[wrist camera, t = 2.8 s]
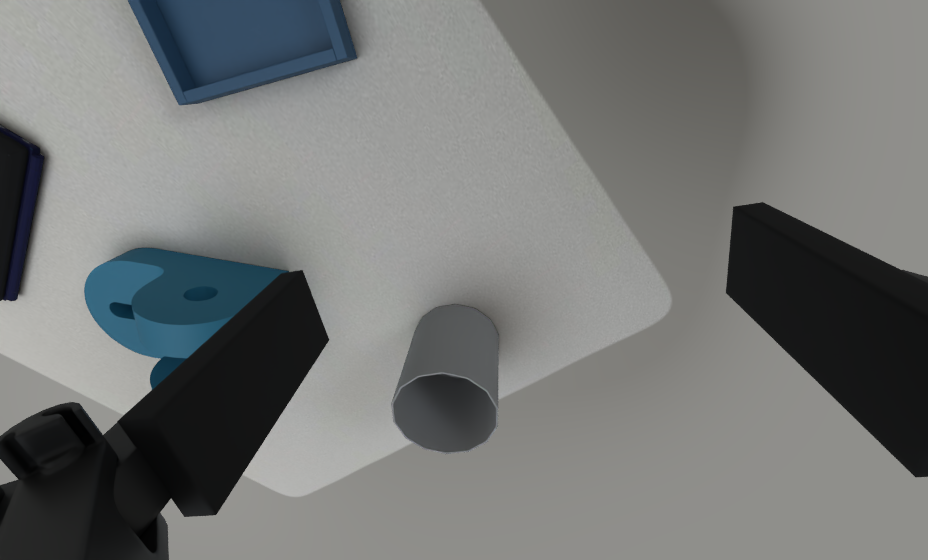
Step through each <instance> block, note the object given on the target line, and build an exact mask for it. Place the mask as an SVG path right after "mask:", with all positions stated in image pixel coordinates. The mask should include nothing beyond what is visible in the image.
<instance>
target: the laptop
mask: <svg viewBox="0 0 928 560" xmlns="http://www.w3.org/2000/svg"><path fill="white" fill-rule="evenodd" d="M43 161H44V156H43V155H41V154H40V148H39V147H37V146H36V145H34V144H32V143H31V142H29V141H27V140H25V139H24V138H22V137H20V136H18V135H17V134H15V133H13V132H12V131H10V130H8V129H6V128H5V127H3V126H2V125H0V301H1V300H5V301H6V300H10V301H15V300H16V299H17V298H18V292H19V286H20V281H21V276H22V271H23V265H24V260H25V255H26V250H27V245H28V239H29V234H30V229H31V224H32V219H33V213H34V208H35V203H36V198H37V193H38V188H39V182H40V177H41V172H42V166H43Z"/></svg>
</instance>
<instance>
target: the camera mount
mask: <svg viewBox="0 0 928 560" xmlns="http://www.w3.org/2000/svg"><path fill="white" fill-rule="evenodd" d="M286 272H289V271H285V270H279V269H273V268H267V267H261V266H255V265H249V264H243V263H238V262H232V261H226V260H220V259H214V258H208V257H202V256H196V255H190V254H185V253H179V252H173V251H167V250H161V249H155V248H138V249H133V250H130V251H128V252H126V253H124V254H122V255H120V256H118V257H116V258H114V259H112V260H110V261H108V262H105V263H103V264H101V265H99V266H98V267H96V268H95V269H94V270H93V271H92V272H91V273H90V274H89V276H88V278H87V280H86V283H85V290H84V293H85V300H86V304H87V307H88V309H89V311H90V313H91V315H92V316H93V318H94V319H95V321H96V322H97V323H98V325H99V326H100V327H101V328H102V329H103V330H104V331H105V332H106V333H107V334H108V335H109V336H110V337H111V338H113V339H114V340H115V341H117V342H118V343H120V344H121V345H123V346H124V347H126V348H128V349H130V350H132V351H134V352H137V353H139V354H142V355H146V356H150V357H155V358H161V360H160V361H159V362H158V363H157V364H156V365H155V367H154V368H153V370H152V372H151V375H150V383H151V387H152V390H153V389H154V388H155V387H156V386H157V385H158V384H159V383H160V382H161V381H163V380H164V379H165V378H166V377H167V376H168V375H169V374H170V373H171V372H173V371H174V370H175V369H176V368H177V367H178V366H179V365H180V364H181V363H182V362H184V361H185V360H186V359H187V358H188V357H189V356H190V355H191V354H192V353H194V352H195V351H196V350H197V349H198V348H199V347H200V346H201V345H202V344H203V343H205V342H206V341H207V340H208V339H209V338H210V337H211V336H212V335H213V334H215V333H216V332H217V331H218V330H219V329H220V328H221V327H222V326H223V325H224V324H226V323H227V322H228V321H229V320H230V319H231V318H232V317H233V316H234V315H236V314H237V313H238V312H239V311H240V310H241V309H242V308H243V307H244V306H245V305H247V304H248V303H249V302H250V301H251V300H252V299H253V298H254V297H255V296H257V295H258V294H259V293H260V292H261V291H262V290H263V289H264V288H265V287H266V286H268V285H269V284H270V283H271V282H272V281H273V280H274V279H275V278H276V277H278V276H279V275H280V274H281V273H286Z"/></svg>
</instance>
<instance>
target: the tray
mask: <svg viewBox="0 0 928 560" xmlns="http://www.w3.org/2000/svg"><path fill="white" fill-rule="evenodd" d="M128 2H129V4H130V6H131V8H132V10H133V12H134V14H135V16H136V18H137V20H138V22H139V24H140V26H141V28H142V31H143V33H144V35H145V37H146V39H147V41H148V43H149V45H150V47H151V49H152V51H153V53H154V55H155V57H156V59H157V61H158V63H159V65H160V67H161V69H162V71H163V73H164V76H165V78H166V80H167V82H168V84H169V86H170V88H171V90H172V92H173V94H174V96H175V98H176V100H177V102H178V104H179V105H188V104H198V103H202V102H205V101H209V100H212V99H216V98H219V97H223V96H226V95H230V94H233V93H237V92H241V91H244V90H248V89H251V88H255V87H258V86H262V85H265V84H269V83H272V82H276V81H279V80H283V79H286V78H290V77H293V76H297V75H301V74H304V73H308V72H311V71H315V70H318V69H322V68H325V67H329V66H332V65H336V64H339V63H343V62H346V61H350V60H354V59H357V55H356V52H355V49H354V45H353V42H352V39H351V36H350V32H349V29H348V26H347V23H346V19H345V16H344V13H343V9H342V6H341V3H340V0H128Z"/></svg>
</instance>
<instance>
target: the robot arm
mask: <svg viewBox="0 0 928 560" xmlns="http://www.w3.org/2000/svg"><path fill="white" fill-rule="evenodd" d="M726 293H727V294H728V295H729V296H730V297H731V298H732V299H733V300H734V301H735V302H736V303H737V304H738V305H739V306H740V307H741V308H742V309H743V310H744V311H745V312H746V313H747V314H748V315H749V316H750V317H751V318H753V319H754V321H756V322H757V323H758V324H759V325H760V326H761V327H762V328H763V329H764V330H765V331H766V332H767V333H768V334H769V335H770V336H771V337H772V338H773V339H774V340H775V341H776V342H777V343H778V344H779V345H780V346H781V347H782V348H783V349H784V350H785V351H786V352H787V353H788V354H789V355H790V356H791V357H792V358H794V359H795V360H796V361H797V362H798V363H799V364H800V365H801V366H802V367H803V368H804V369H805V370H806V371H807V372H808V373H809V374H810V375H811V376H812V377H813V378H814V379H815V380H816V381H817V382H818V383H819V384H820V385H821V386H822V387H823V388H824V389H825V390H826V391H827V392H828V393H830V394H831V395H832V396H833V397H834V398H835V399H836V400H837V401H838V402H839V403H840V404H841V405H842V406H843V407H844V408H845V409H846V410H847V411H848V412H849V413H850V414H851V415H852V416H853V417H854V418H855V419H856V420H857V421H858V422H859V423H860V424H861V425H862V426H863V427H864V428H866V429H867V430H868V431H869V432H870V433H871V434H872V435H873V436H874V437H875V438H876V439H877V440H878V441H879V442H880V443H881V444H882V445H883V446H884V447H885V448H886V449H887V450H888V451H889V452H890V453H891V454H892V455H893V456H894V457H896V459H898V461H900V462H901V463H902V464H903V465H904V466H905V467H906V468H907V469H908V470H909V471H910V472H911V473H912V474H913V475H914V476H915V477H928V277H927V276H923V275H919V274H915V273H912V272H908V271H905V270H900V269H898V268H896V267H894V266H892V265H890V264H888V263H886V262H884V261H882V260H880V259H878V258H876V257H873V256H872V255H869V254H867V253H865V252H863V251H861V250H859V249H857V248H855V247H853V246H851V245H849V244H847V243H845V242H843V241H841V240H839V239H837V238H835V237H833V236H831V235H829V234H827V233H824V232H822V231H820V230H818V229H816V228H814V227H812V226H810V225H808V224H806V223H804V222H802V221H800V220H798V219H796V218H794V217H792V216H790V215H788V214H786V213H784V212H782V211H780V210H777V209H775V208H773V207H771V206H769V205H767V204H765V203H763V202H762V203H755V204H749V205H742V206H735V207H733V217H732V229H731V240H730V252H729V264H728V276H727V287H726ZM328 341H329V338H328V336H327V333H326V330H325V328H324V325H323V323H322V320H321V317H320V315H319V312H318V309H317V307H316V304H315V302H314V299H313V296H312V294H311V291H310V289H309V286H308V283H307V281H306V278H305V276H304V273H303V270H300V271H293V272H286V273H281V274H280V275H279V276H278V277H276V278H275V279H274V280H273V281H272V282H271V283H270V284H269V285H268V286H266V287H265V288H264V289H263V290H262V291H261V292H260V293H259V294H258V295H257V296H255V297H254V298H253V299H252V300H251V301H250V302H249V303H248V304H247V305H245V306H244V307H243V308H242V309H241V310H240V311H239V312H238V313H237V314H236V315H234V316H233V317H232V318H231V319H230V320H229V321H228V322H227V323H226V324H224V325H223V326H222V327H221V328H220V329H219V330H218V331H217V332H216V333H215V334H213V335H212V336H211V337H210V338H209V339H208V340H207V341H206V342H205V343H203V344H202V345H201V346H200V347H199V348H198V349H197V350H196V351H195V352H194V353H192V354H191V355H190V356H189V357H188V358H187V359H186V360H185V361H184V362H182V363H181V364H180V365H179V366H178V367H177V368H176V369H175V370H174V371H173V372H171V373H170V374H169V375H168V376H167V377H166V378H165V379H164V380H163V381H161V382H160V383H159V384H158V385H157V386H156V387H155V388H154V389H153V390H152V391H150V392H149V393H148V394H147V395H146V396H145V397H144V398H143V399H142V400H141V401H139V402H138V403H137V404H136V405H135V406H134V407H133V408H132V409H131V410H129V411H128V412H127V413H126V414H125V415H124V416H123V417H122V418H121V419H120V420H119V421H118V422H117V423H116V424H115V425H114V426H113V427H112V428H111V429H110V430H108V431H107V432H106V433H105V434H104V435H102V433H101V432H100V431H99V429H98V428H97V426H96V425H95V424H94V422H93V421H92V420H91V418H90V417H89V416H88V414H87V413H86V411H85V410H84V409H83V407H82V406H81V405H80V404H79V403H74V402H70V403H65V404H60V405H57V406H54V407H51V408H48V409H46V410H43V411H41V412H39V413H37V414H35V415H33V416H30V417H28V418H26V419H25V420H23V421H22V422H20V423H18V424H17V425H15V426H13V427H12V428H10V429H9V430H8V431H6V432H5V433H4V434H3V435H1V436H0V459H1V460H2V461H3V463H4V464H5V465H6V466H7V467H8V468H9V469H10V470H11V472H12V473H13V474H14V475H15V476H16V477H17V478H18V479H19V480H16V481H13V482H9V483H7V484H3V485H0V560H169V554H168V525H167V523H166V521H165V519H164V517H163V516H162V515H161V513H160V512H161V510H162V509H163V508H164V507H165V505H166V504H167V503H168V501H169V500H170V499H171V498H172V500H173V501H174V503H175V504H176V505H177V507H178V508H179V510H180V511H181V513H182V514H183V515H184V517H189V516H208V515H216V514H217V513H218V511H219V510H220V508H221V506H222V505H223V503H224V502H225V500H226V499H227V497H228V496H229V494H230V492H231V491H232V489H233V488H234V486H235V485H236V483H237V482H238V480H239V479H240V477H241V476H242V474H243V472H244V471H245V469H246V468H247V466H248V465H249V463H250V462H251V460H252V459H253V457H254V455H255V454H256V452H257V451H258V449H259V448H260V446H261V445H262V443H263V442H264V440H265V438H266V437H267V435H268V434H269V432H270V431H271V429H272V428H273V426H274V425H275V423H276V421H277V420H278V418H279V417H280V415H281V414H282V412H283V411H284V409H285V408H286V406H287V404H288V403H289V401H290V400H291V398H292V397H293V395H294V394H295V392H296V391H297V389H298V387H299V386H300V384H301V383H302V381H303V380H304V378H305V377H306V375H307V374H308V372H309V370H310V369H311V367H312V366H313V364H314V363H315V361H316V360H317V358H318V357H319V355H320V353H321V352H322V350H323V349H324V347H325V346H326V344H327V343H328Z"/></svg>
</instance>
